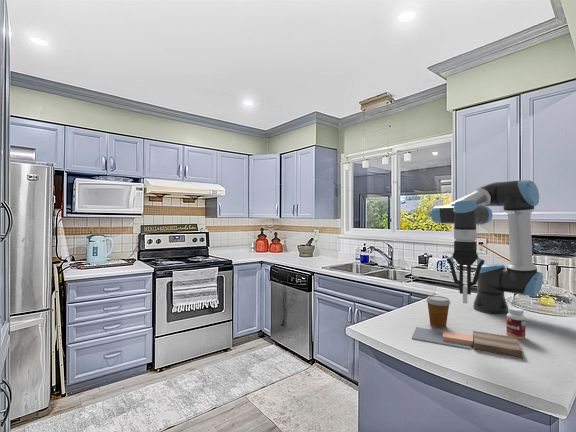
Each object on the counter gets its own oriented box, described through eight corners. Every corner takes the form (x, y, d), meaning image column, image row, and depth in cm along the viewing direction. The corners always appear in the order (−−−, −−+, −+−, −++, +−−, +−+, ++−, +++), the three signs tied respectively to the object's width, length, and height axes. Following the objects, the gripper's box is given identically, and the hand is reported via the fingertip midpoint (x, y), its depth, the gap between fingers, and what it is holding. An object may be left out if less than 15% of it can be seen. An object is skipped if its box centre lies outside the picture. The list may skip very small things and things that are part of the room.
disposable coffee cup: (422, 325, 140) (423, 298, 140) (430, 320, 147) (430, 294, 147) (446, 331, 134) (446, 302, 134) (453, 325, 141) (453, 298, 141)
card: (443, 334, 129) (443, 330, 129) (472, 339, 124) (472, 335, 124) (442, 340, 123) (442, 336, 123) (472, 345, 118) (472, 341, 118)
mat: (416, 328, 137) (416, 327, 137) (470, 336, 128) (470, 335, 128) (411, 339, 125) (411, 338, 125) (470, 349, 115) (470, 348, 115)
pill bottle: (503, 335, 129) (503, 307, 129) (511, 332, 132) (511, 305, 132) (520, 340, 124) (520, 312, 124) (528, 337, 127) (528, 309, 127)
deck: (473, 337, 127) (473, 330, 127) (516, 344, 120) (516, 337, 120) (474, 350, 115) (474, 343, 115) (522, 358, 108) (522, 351, 108)
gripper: (445, 240, 122) (445, 302, 122) (485, 242, 116) (485, 307, 116) (446, 239, 129) (446, 298, 129) (484, 240, 122) (484, 302, 123)
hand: (465, 302), depth 122 cm, fingers closed
